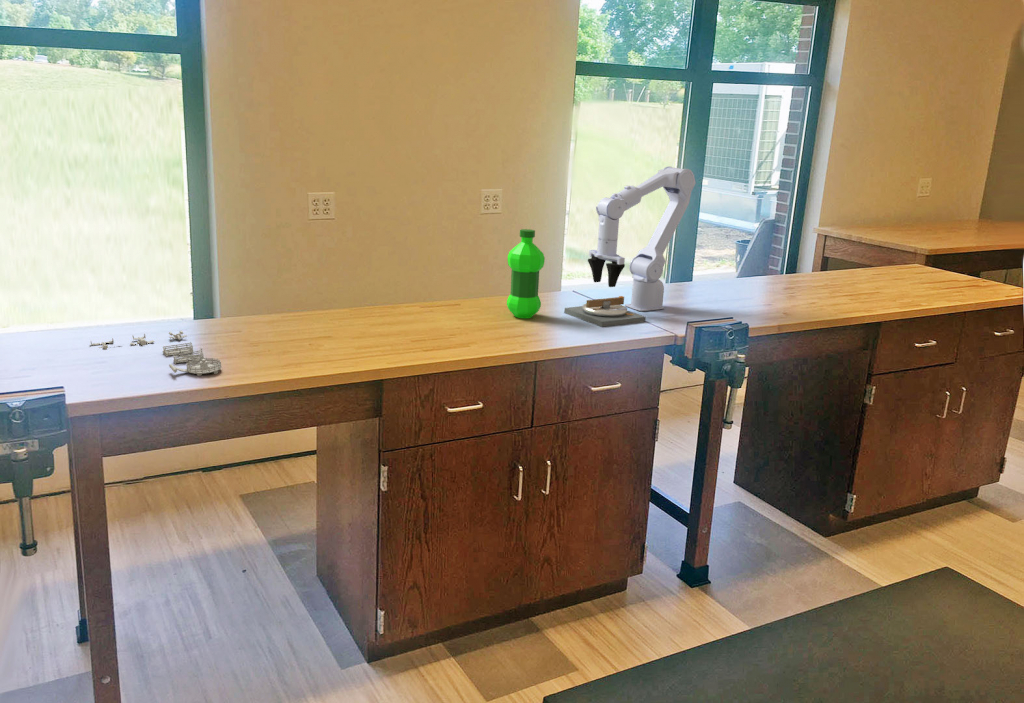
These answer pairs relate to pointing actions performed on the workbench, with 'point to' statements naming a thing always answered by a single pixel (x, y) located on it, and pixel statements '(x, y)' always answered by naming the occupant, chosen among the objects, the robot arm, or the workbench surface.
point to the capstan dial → (606, 307)
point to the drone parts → (204, 363)
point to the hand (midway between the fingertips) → (604, 284)
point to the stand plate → (604, 317)
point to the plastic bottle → (525, 276)
